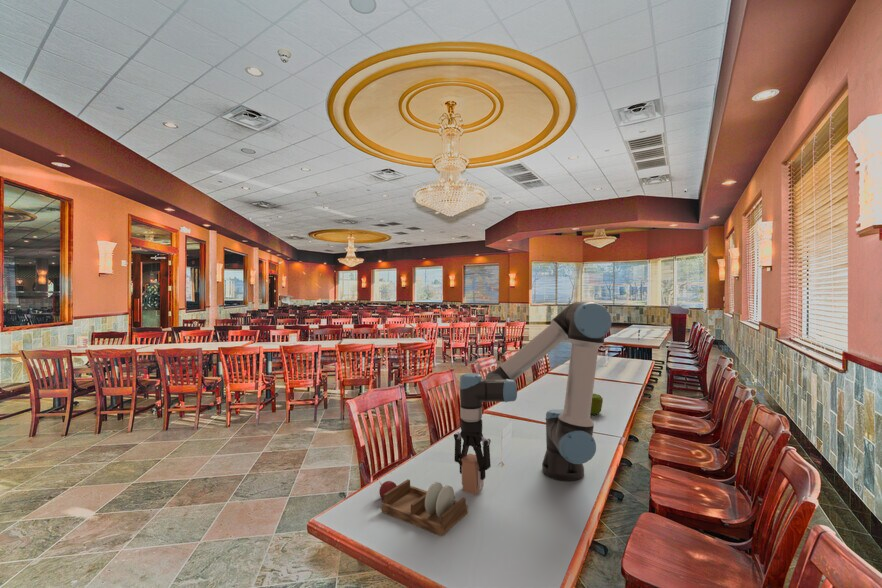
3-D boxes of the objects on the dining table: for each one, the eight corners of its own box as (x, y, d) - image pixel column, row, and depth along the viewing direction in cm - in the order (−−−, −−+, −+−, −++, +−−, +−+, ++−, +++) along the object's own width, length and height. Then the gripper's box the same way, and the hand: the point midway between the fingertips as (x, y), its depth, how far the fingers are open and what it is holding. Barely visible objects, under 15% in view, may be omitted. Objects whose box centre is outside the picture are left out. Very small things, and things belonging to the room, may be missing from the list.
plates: (454, 510, 119) (454, 481, 119) (437, 524, 112) (437, 493, 112) (442, 505, 122) (441, 477, 122) (424, 519, 114) (424, 489, 114)
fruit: (392, 498, 132) (383, 475, 135) (402, 494, 129) (393, 471, 132) (378, 506, 128) (370, 482, 130) (389, 502, 125) (380, 477, 127)
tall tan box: (483, 488, 135) (482, 456, 135) (475, 495, 130) (475, 462, 130) (469, 484, 138) (469, 453, 138) (461, 490, 133) (461, 458, 133)
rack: (467, 512, 119) (467, 496, 119) (442, 536, 108) (441, 518, 108) (409, 492, 132) (409, 478, 132) (381, 511, 121) (381, 495, 121)
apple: (577, 409, 225) (577, 390, 225) (599, 410, 223) (599, 390, 223) (582, 416, 212) (581, 395, 213) (605, 416, 211) (605, 396, 211)
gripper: (500, 420, 132) (501, 488, 132) (454, 411, 142) (455, 474, 142) (490, 426, 126) (491, 498, 125) (443, 417, 136) (444, 483, 136)
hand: (472, 485), depth 134 cm, fingers open, 6 cm apart
